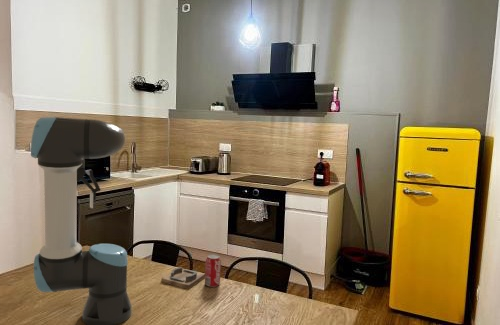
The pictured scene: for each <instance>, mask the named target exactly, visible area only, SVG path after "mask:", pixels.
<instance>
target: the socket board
mask: <svg viewBox="0 0 500 325" xmlns="http://www.w3.org/2000/svg"><path fill="white" fill-rule="evenodd" d="M203 279H205V272H204V273H203V272H200V271H198V270H190V269H186V268H183V267H182V266H180V267H175V268H173V269H172V270H171V272H169V273H168V274H166V275H164V276H163V277H162V278H161V283H164V284H168V285H172V286H176V287H180V288H183V289H187V290H188V289H190V288H193V287H194V286H195V285H196V284H198V283H200V282H201V281H203Z"/></svg>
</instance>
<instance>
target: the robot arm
mask: <svg viewBox="0 0 500 325" xmlns="http://www.w3.org/2000/svg"><path fill="white" fill-rule="evenodd" d="M125 139H126V136H125V133H124V130H123V129H122V128H120V127H119V126H117V125H115V124H113V123H111V122H107V121H103V120H99V119H91V118H90V119H87V118H74V117H73V118H72V117H61V116H60V117H58V116H50V117H48V116H47V117H46V116H45V117H44V116H43V117H40V118H38V119H37V120H36V123H35V125H34V128H33V132H32V136H31V143H30V156H31V158H34V159H37V165H38V167H40V168H41V169H42V170H43V187H44V190H43V192H44V245H43V246H42V247H41V248H40V250H39V253H38V254H36V255H35V257H34V260H33V276H34V283H35V285H36V286H35V287H36V288H37V290H38V291H39V292H42V293H50V292H51V293H57V292H63V291H72V290H73V291H74V290H83V289H88V296H87V299H86V301H85V304H84V306H83V310H82V322H83V323H84V324H86V325H121V324H122V323H124V322H126V321H127V320H128V319H129V318H131V316H132V310H133V309H132V308H133V307H132V304H131V303H132V302H131V301H130V297H129V294H128V290H127V289H128V288H127V287H128V286H127V285H128V284H127V283H128V282H127V278H128V276H127V275H128V273H127V272H128V265H129V262H128V252H127V250H126V249H125V248H124V247H122V246H121V245H117V244H113V243H97V244H93V245H91V246H90V247H89V249H88V250H83V246H82V245H81V244H80V243H79V242H78V240H77V236H78V235H77V228H78V227H77V226H78V224H77V220H78V218H77V217H78V216H77V215H78V214H77V210H78V208H77V206H78V205H77V203H78V201H77V200H78V198H77V197H78V196H77V195H78V191H77V188H78V183H77V182H79V181H82V182H83V183H84V185H86V186H87V188H89V190H90V192H89V208H90V209H94V201H96V200H97V196H96V195H97V192H100V191H102V190H101V188H100V184H99V183H98V182H97V180H96V178H95V176H94V171H93V170H92V169H87V170H86V169H85V166H86V165H85V162H86V160H85V159H87V160H88V159H90V160H93V159H101V158H106V157H110V156H113V155H115V154H117V153H119V152H120V151H121V150H122V149H123V147H124V145H125V141H126V140H125ZM86 174H87V175H88V177H89V178H90V180H91V182H92V184H93V185H94V187H95V188H94V187H93V186H92V184H91V183H90V182H88V180H87V179H86V178H85V177H84V176H85V175H86Z"/></svg>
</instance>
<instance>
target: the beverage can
mask: <svg viewBox="0 0 500 325" xmlns="http://www.w3.org/2000/svg"><path fill="white" fill-rule="evenodd" d="M204 270H205V271H204V274H205V278H204V284H205V285H206V286H208V287H210V288H214V287H217V286H219V285H220V284H221V271H222V259H221V256H220V255H219V254H217V253H211V254H208V255H207V256H206V258H205V269H204Z"/></svg>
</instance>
